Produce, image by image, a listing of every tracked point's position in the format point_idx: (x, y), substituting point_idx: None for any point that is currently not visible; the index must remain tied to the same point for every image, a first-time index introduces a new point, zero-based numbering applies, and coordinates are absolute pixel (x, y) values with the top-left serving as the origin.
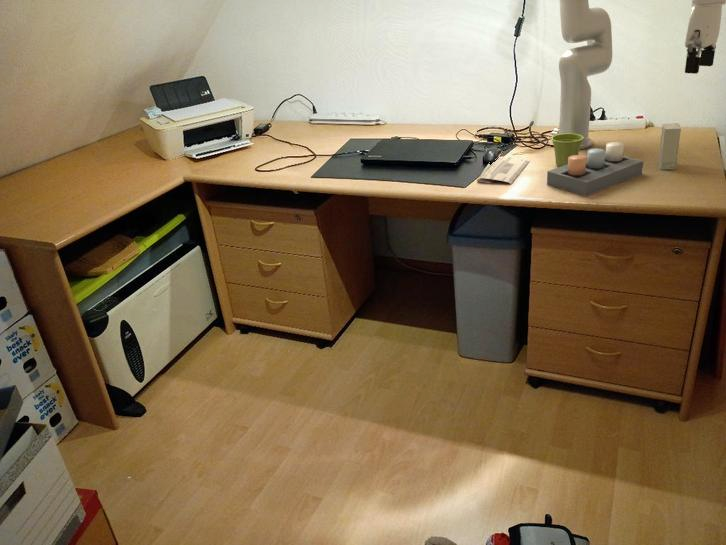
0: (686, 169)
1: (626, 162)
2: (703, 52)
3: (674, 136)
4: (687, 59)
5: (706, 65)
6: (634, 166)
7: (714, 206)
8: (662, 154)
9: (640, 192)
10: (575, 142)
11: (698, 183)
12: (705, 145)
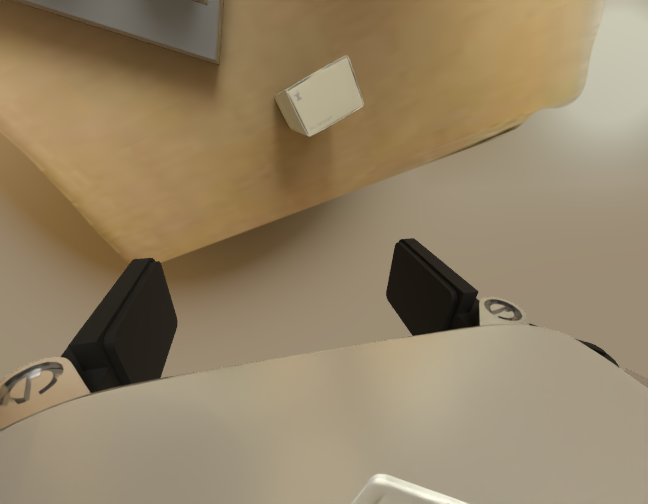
0: (303, 148)
1: (170, 11)
2: (442, 300)
3: (296, 121)
4: (89, 333)
5: (390, 276)
6: (173, 47)
7: None
8: (277, 95)
9: (97, 116)
10: None
11: (235, 198)
12: (463, 124)
